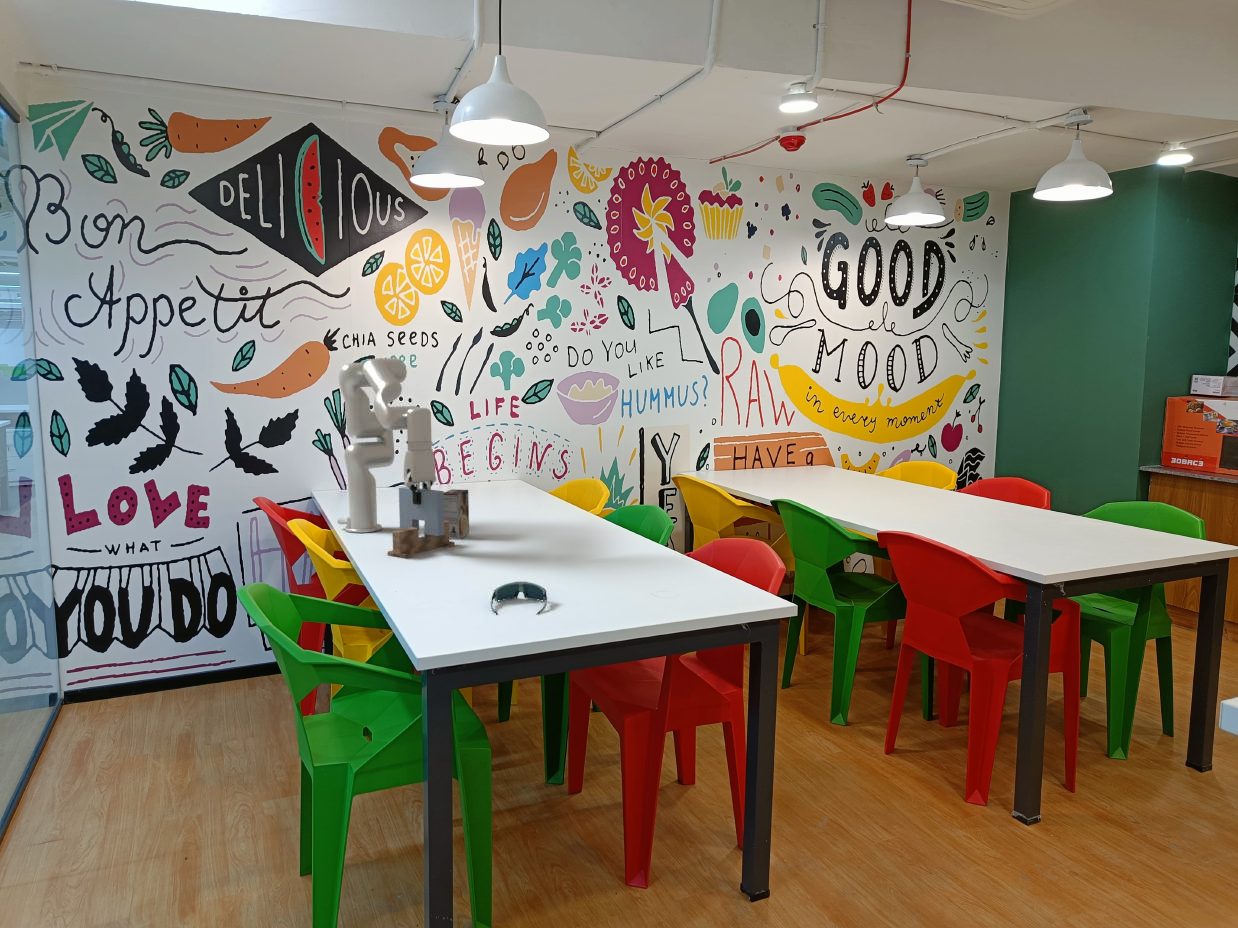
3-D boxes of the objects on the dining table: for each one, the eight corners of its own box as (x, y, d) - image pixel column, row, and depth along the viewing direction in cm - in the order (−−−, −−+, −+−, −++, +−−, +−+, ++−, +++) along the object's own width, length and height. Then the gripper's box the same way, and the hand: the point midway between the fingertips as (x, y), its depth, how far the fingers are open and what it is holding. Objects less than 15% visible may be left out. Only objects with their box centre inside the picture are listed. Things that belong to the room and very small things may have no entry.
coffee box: (452, 533, 304) (451, 488, 302) (469, 534, 302) (469, 489, 300) (442, 538, 295) (441, 492, 293) (459, 539, 293) (459, 493, 291)
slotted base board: (405, 558, 266) (404, 533, 265) (387, 555, 270) (386, 530, 269) (454, 545, 284) (454, 522, 283) (437, 542, 289) (436, 519, 288)
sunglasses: (548, 598, 225) (548, 580, 224) (545, 623, 211) (545, 604, 209) (494, 598, 224) (494, 580, 223) (488, 623, 210) (487, 604, 209)
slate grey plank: (444, 534, 273) (443, 491, 271) (437, 535, 271) (436, 492, 269) (406, 528, 282) (405, 486, 280) (400, 530, 280) (398, 487, 278)
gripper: (429, 443, 282) (431, 498, 284) (392, 448, 268) (393, 505, 270) (446, 445, 278) (447, 500, 280) (409, 449, 264) (410, 508, 266)
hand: (421, 502), depth 275 cm, fingers closed on slate grey plank, 3 cm apart
